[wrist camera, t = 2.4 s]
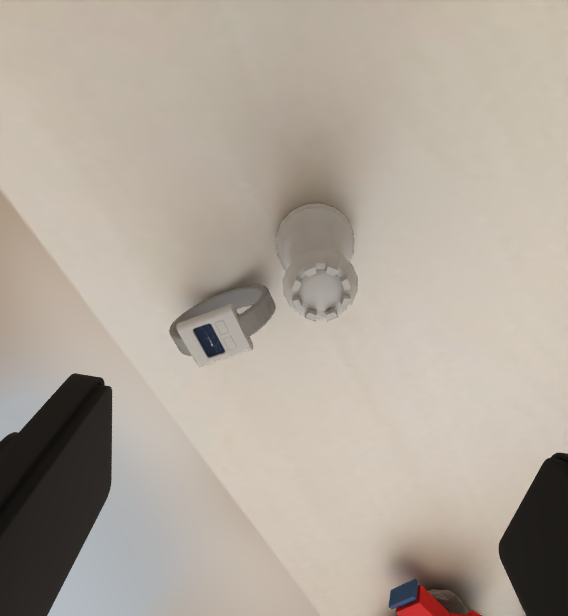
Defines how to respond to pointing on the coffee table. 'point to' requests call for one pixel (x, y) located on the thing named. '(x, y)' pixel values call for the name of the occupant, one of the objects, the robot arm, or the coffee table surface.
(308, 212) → the rook chess piece
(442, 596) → the stone
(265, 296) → the wristwatch
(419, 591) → the toy gun
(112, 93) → the coffee table surface
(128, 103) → the coffee table surface
